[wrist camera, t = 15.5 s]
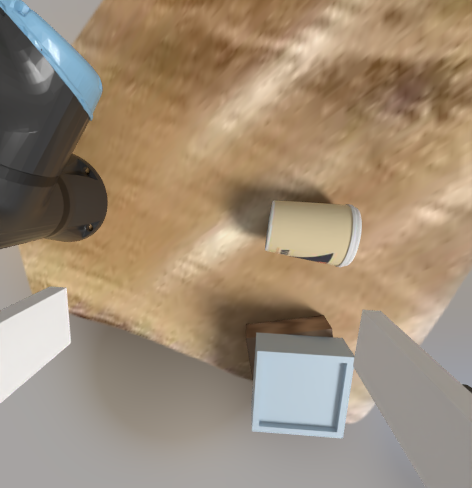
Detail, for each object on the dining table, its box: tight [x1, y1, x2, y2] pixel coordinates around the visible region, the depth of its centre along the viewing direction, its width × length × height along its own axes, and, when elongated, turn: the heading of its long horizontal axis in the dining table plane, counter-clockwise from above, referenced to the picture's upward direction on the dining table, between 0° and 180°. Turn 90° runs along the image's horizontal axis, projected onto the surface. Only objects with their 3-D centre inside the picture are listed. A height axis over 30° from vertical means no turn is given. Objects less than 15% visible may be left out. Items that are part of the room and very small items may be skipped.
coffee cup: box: [265, 201, 362, 267], centre depth 39 cm, size 9×9×12 cm
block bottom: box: [246, 316, 333, 379], centre depth 46 cm, size 14×14×5 cm
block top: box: [252, 333, 355, 438], centre depth 41 cm, size 14×14×5 cm
